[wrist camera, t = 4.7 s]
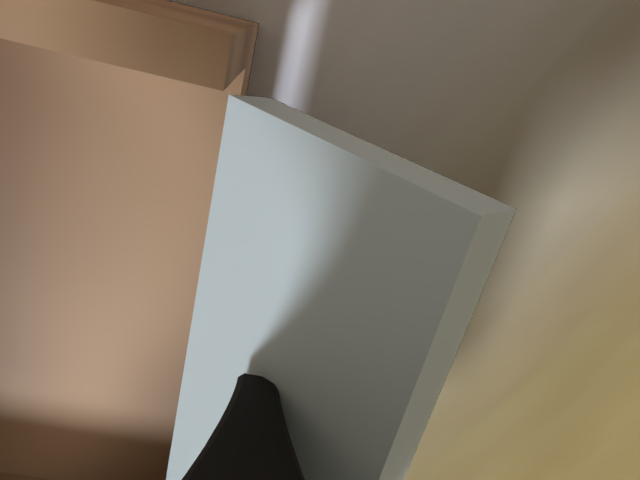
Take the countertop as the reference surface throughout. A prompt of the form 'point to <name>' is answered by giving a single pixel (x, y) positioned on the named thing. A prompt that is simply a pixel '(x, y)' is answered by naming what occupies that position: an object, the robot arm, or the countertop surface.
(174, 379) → the wooden tray
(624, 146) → the countertop surface
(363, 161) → the pale grey board
